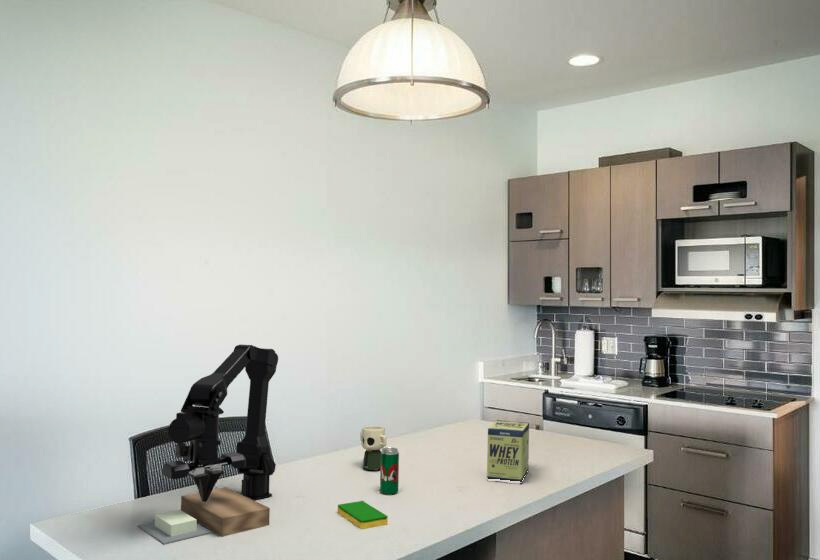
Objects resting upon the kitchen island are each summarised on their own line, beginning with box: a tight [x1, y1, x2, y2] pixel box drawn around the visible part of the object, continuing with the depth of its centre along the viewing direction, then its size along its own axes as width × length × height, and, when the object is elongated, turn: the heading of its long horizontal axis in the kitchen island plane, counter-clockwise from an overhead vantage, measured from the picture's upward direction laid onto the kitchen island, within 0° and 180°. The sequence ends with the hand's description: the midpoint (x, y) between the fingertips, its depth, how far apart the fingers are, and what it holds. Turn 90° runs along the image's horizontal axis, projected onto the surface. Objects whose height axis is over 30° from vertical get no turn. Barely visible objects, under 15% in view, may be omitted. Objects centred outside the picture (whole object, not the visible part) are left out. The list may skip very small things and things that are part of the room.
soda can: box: [379, 446, 400, 495], centre depth 192 cm, size 5×5×12 cm
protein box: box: [486, 419, 530, 483], centre depth 211 cm, size 10×16×16 cm
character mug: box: [359, 425, 387, 471], centre depth 216 cm, size 11×7×13 cm, turn 49°
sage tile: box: [154, 509, 198, 537], centre depth 160 cm, size 6×9×2 cm, turn 43°
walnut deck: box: [180, 487, 271, 537], centre depth 168 cm, size 12×22×4 cm, turn 42°
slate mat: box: [137, 520, 212, 545], centre depth 160 cm, size 11×15×1 cm
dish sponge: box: [337, 500, 389, 530], centre depth 170 cm, size 7×14×2 cm, turn 30°
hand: (204, 501), depth 165 cm, fingers closed
